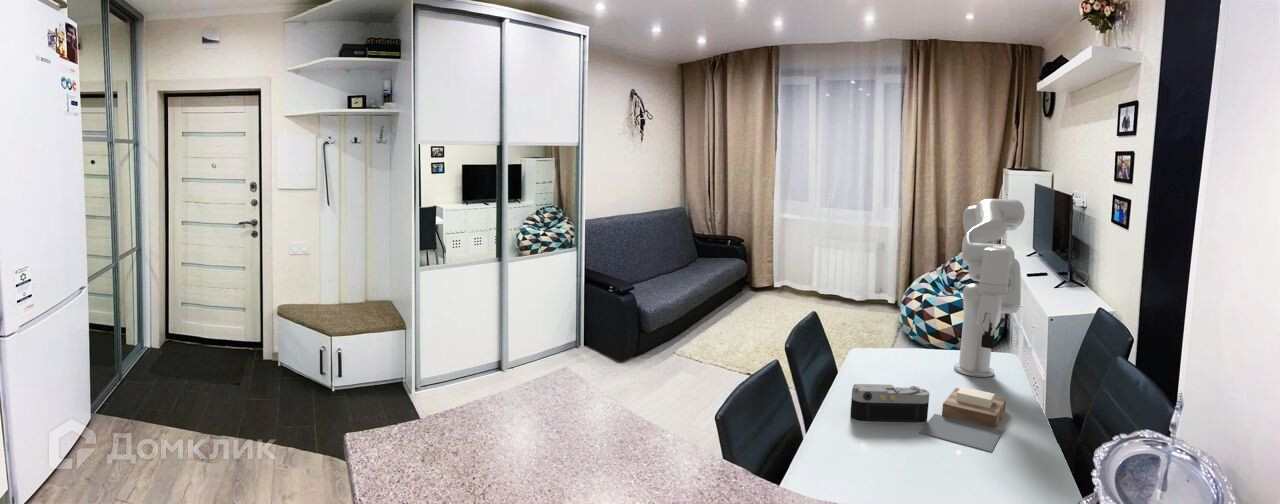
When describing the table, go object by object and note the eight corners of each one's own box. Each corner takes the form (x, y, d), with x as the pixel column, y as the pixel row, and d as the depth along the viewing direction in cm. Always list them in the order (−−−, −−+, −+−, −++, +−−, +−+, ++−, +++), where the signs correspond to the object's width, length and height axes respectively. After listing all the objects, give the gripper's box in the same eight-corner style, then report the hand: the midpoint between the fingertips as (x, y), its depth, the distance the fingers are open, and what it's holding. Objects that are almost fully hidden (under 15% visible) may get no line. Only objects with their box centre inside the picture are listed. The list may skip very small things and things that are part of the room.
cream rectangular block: (960, 394, 199) (961, 386, 198) (993, 401, 193) (994, 393, 193) (956, 400, 194) (956, 392, 194) (989, 408, 189) (990, 399, 188)
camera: (918, 412, 195) (921, 380, 194) (931, 426, 186) (934, 393, 184) (844, 410, 196) (846, 379, 195) (853, 424, 187) (856, 391, 185)
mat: (934, 414, 194) (934, 413, 193) (1002, 431, 183) (1002, 430, 183) (919, 433, 181) (919, 432, 181) (991, 452, 170) (991, 451, 170)
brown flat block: (954, 399, 205) (955, 387, 204) (1005, 411, 196) (1006, 398, 196) (941, 416, 192) (942, 403, 192) (994, 429, 184) (996, 416, 183)
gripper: (984, 283, 205) (978, 339, 208) (974, 290, 193) (968, 350, 196) (1011, 286, 200) (1005, 344, 203) (1002, 294, 188) (996, 355, 191)
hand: (987, 347), depth 199 cm, fingers closed
